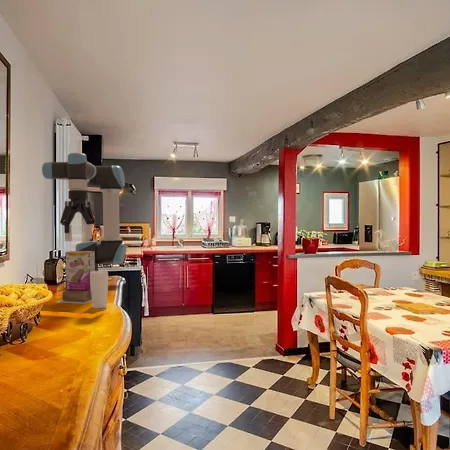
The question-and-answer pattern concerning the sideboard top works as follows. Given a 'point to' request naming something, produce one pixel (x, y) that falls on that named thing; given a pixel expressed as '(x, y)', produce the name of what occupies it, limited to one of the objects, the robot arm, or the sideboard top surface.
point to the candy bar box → (79, 269)
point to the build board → (75, 302)
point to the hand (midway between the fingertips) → (79, 240)
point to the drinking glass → (99, 288)
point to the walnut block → (76, 295)
